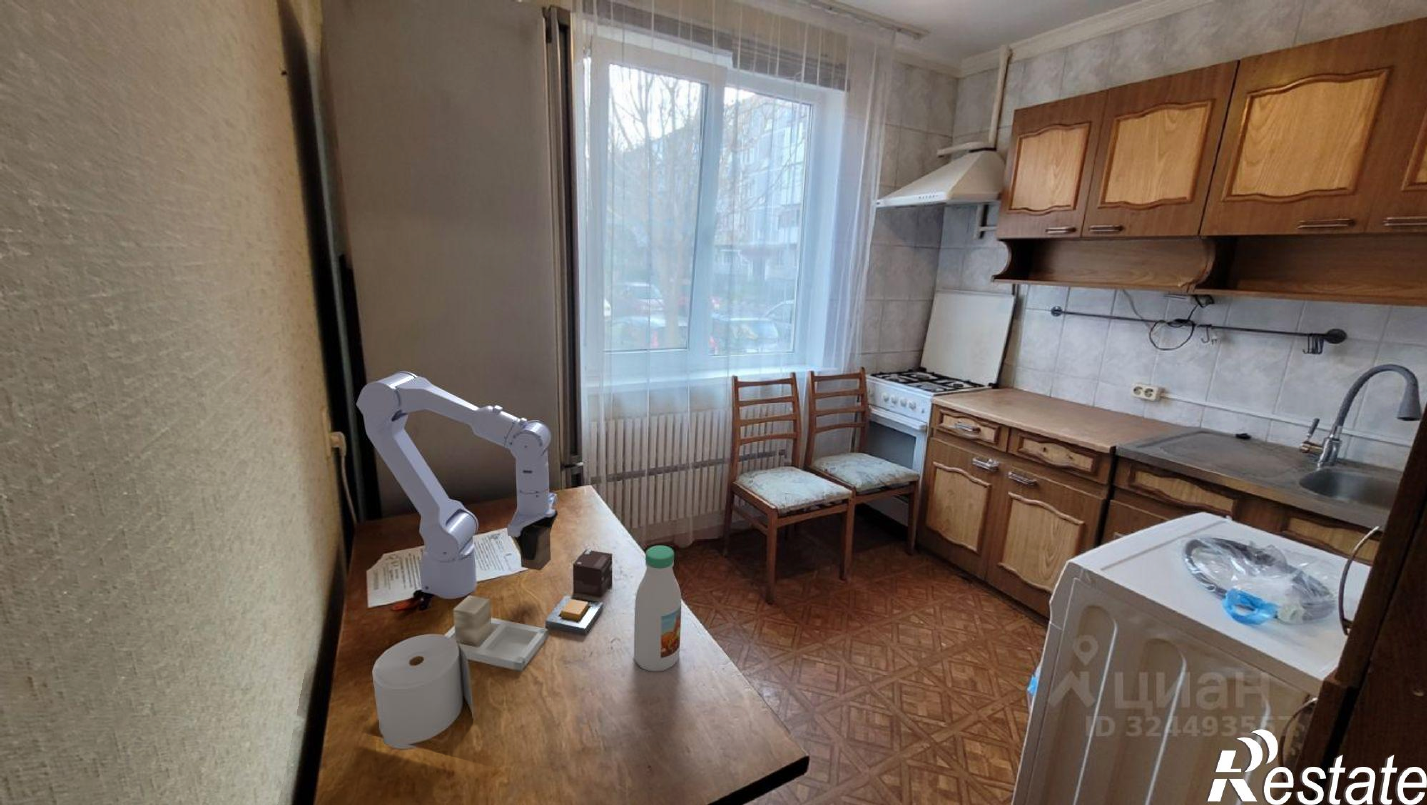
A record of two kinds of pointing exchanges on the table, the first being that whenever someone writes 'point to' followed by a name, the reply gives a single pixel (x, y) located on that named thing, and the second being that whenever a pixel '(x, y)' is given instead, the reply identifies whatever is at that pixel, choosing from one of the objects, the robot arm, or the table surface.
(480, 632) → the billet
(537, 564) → the block
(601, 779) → the table surface
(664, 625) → the milk bottle
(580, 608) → the button
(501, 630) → the light grey rectangular frame
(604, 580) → the box
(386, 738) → the toilet tissue
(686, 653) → the table surface
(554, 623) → the button housing
